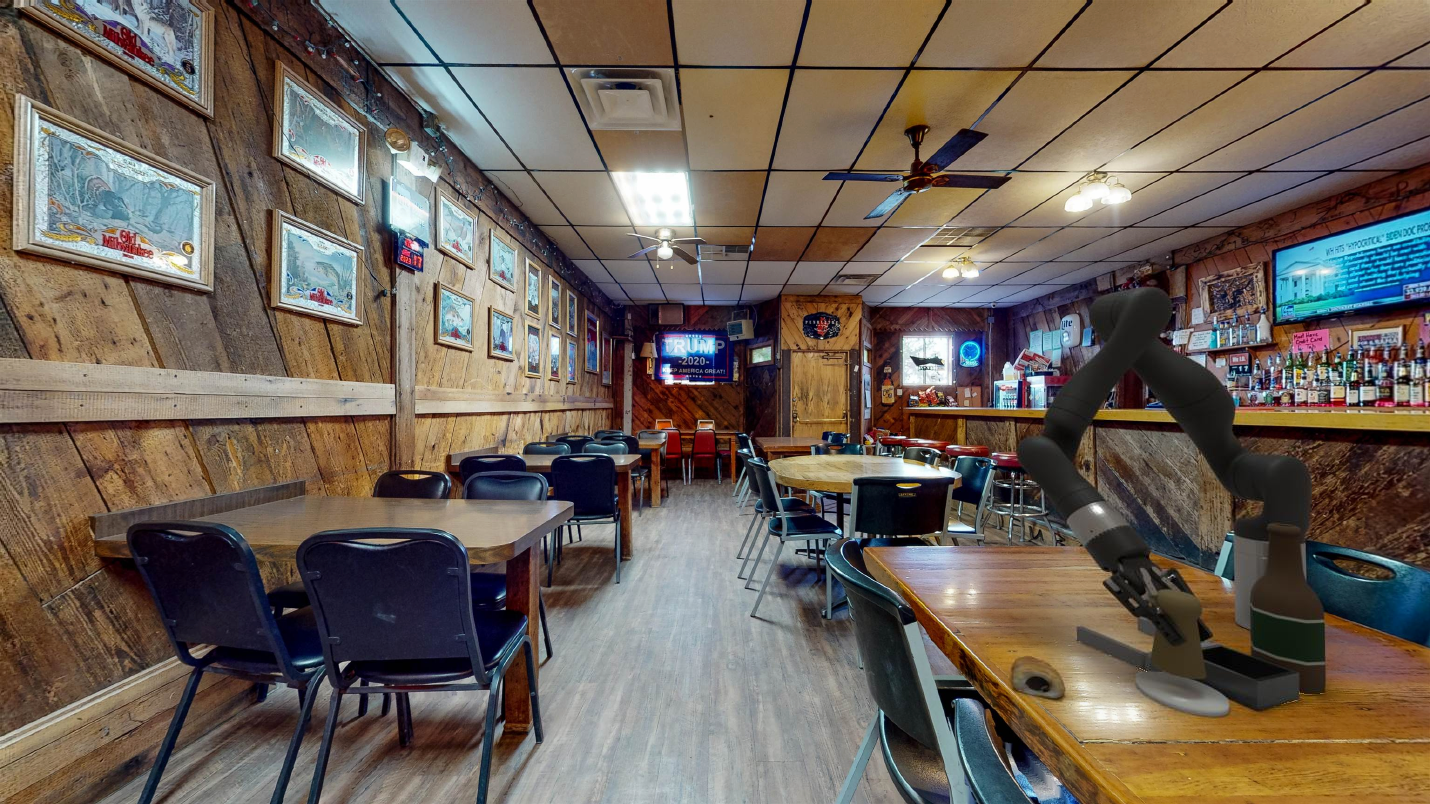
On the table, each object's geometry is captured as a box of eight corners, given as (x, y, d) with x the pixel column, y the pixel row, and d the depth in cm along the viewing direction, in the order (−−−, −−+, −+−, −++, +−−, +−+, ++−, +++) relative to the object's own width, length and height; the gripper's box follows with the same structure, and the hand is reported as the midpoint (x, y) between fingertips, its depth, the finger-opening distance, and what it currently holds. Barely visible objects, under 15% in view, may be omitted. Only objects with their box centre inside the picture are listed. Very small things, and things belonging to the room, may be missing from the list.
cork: (1218, 681, 70) (1218, 601, 70) (1167, 676, 71) (1167, 597, 71) (1186, 660, 76) (1186, 586, 76) (1140, 655, 77) (1140, 583, 77)
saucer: (1165, 673, 79) (1165, 667, 79) (1247, 709, 70) (1247, 702, 70) (1118, 683, 76) (1118, 676, 76) (1198, 722, 67) (1197, 714, 67)
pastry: (1008, 664, 82) (1009, 641, 82) (1058, 675, 79) (1058, 650, 79) (1012, 693, 74) (1012, 667, 74) (1068, 706, 71) (1068, 678, 71)
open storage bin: (1219, 669, 81) (1219, 644, 81) (1299, 700, 72) (1299, 672, 72) (1179, 677, 78) (1179, 651, 78) (1257, 711, 69) (1257, 682, 69)
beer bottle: (1317, 702, 71) (1314, 533, 72) (1241, 676, 78) (1238, 522, 79) (1334, 688, 75) (1331, 527, 75) (1260, 665, 82) (1257, 517, 82)
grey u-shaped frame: (1142, 629, 95) (1142, 616, 95) (1219, 659, 84) (1219, 644, 84) (1076, 640, 91) (1076, 626, 91) (1149, 673, 79) (1149, 657, 79)
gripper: (1090, 525, 79) (1180, 637, 67) (1154, 520, 83) (1251, 624, 71) (1058, 550, 84) (1137, 658, 72) (1120, 544, 88) (1205, 645, 76)
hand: (1193, 640), depth 71 cm, fingers closed on cork, 4 cm apart
